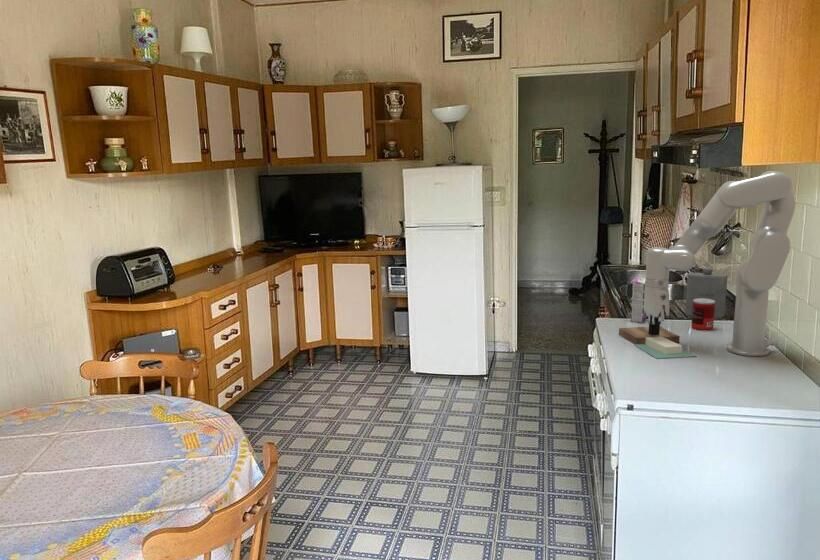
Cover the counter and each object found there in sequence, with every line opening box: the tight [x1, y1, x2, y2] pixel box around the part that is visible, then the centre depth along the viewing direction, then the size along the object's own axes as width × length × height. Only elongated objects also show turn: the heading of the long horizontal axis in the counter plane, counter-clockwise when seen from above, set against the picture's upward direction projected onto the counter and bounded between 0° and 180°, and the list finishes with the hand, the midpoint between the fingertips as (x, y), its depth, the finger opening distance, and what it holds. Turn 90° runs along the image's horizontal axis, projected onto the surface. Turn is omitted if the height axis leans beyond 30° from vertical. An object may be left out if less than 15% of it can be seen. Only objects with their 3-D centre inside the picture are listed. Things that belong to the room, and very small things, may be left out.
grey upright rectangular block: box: [684, 267, 728, 319], centre depth 261 cm, size 15×6×20 cm, turn 70°
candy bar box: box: [630, 277, 648, 324], centre depth 257 cm, size 11×5×16 cm, turn 150°
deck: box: [618, 326, 681, 345], centre depth 230 cm, size 16×14×2 cm
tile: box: [645, 337, 683, 354], centre depth 217 cm, size 6×12×2 cm, turn 12°
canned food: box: [691, 298, 715, 331], centre depth 243 cm, size 8×8×11 cm
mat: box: [633, 343, 697, 360], centre depth 216 cm, size 14×16×1 cm
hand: (653, 334), depth 222 cm, fingers closed
